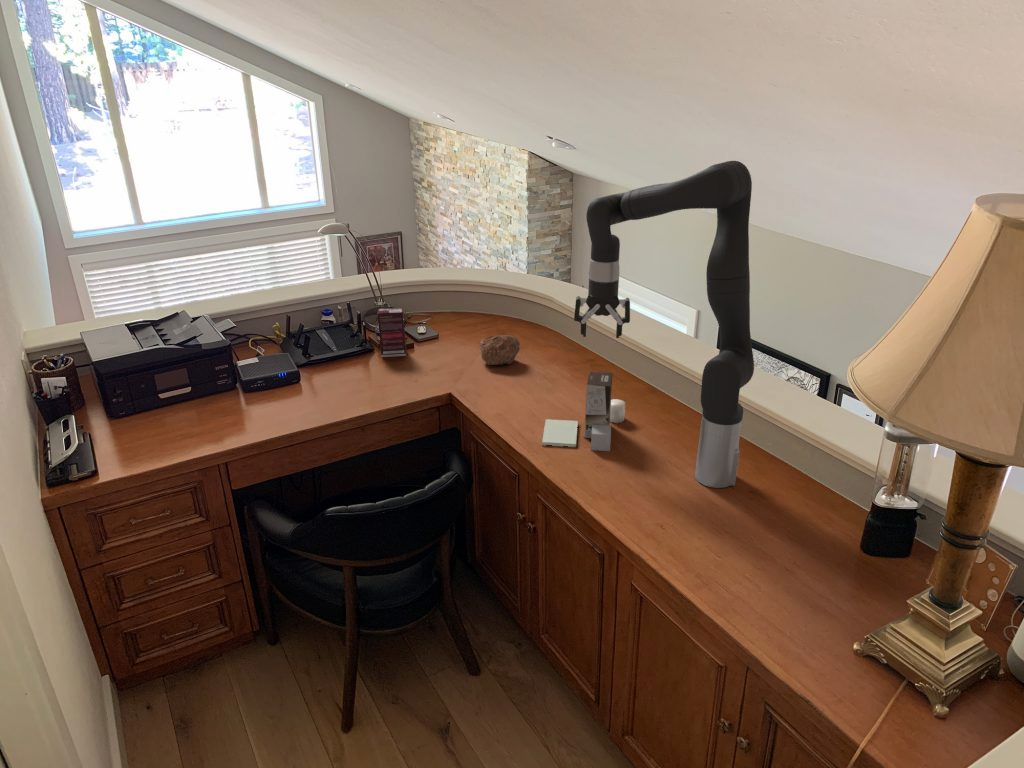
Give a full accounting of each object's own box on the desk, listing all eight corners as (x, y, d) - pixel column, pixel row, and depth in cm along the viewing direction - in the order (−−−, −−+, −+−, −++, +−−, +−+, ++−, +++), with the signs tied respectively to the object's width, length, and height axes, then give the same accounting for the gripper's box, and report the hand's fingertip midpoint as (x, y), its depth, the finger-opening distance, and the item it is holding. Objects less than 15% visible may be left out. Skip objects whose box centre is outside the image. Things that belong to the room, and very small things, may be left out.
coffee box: (607, 440, 203) (610, 386, 196) (583, 438, 204) (586, 384, 197) (610, 424, 211) (613, 372, 204) (587, 422, 212) (589, 370, 206)
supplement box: (406, 350, 260) (403, 307, 253) (406, 356, 256) (403, 312, 249) (381, 352, 259) (377, 308, 253) (380, 357, 255) (376, 313, 248)
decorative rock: (522, 357, 255) (522, 329, 250) (516, 370, 245) (516, 342, 240) (484, 354, 257) (483, 327, 253) (476, 367, 247) (476, 339, 243)
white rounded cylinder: (624, 415, 216) (625, 399, 214) (624, 423, 212) (625, 407, 210) (606, 414, 217) (607, 398, 215) (606, 422, 212) (607, 406, 210)
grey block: (609, 442, 202) (610, 425, 200) (609, 451, 198) (610, 434, 196) (591, 441, 203) (592, 424, 201) (590, 450, 199) (591, 433, 196)
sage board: (577, 424, 211) (577, 421, 211) (575, 447, 200) (575, 443, 199) (545, 422, 212) (545, 419, 212) (541, 445, 201) (542, 442, 200)
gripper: (575, 280, 187) (573, 341, 194) (633, 281, 185) (629, 343, 192) (576, 271, 194) (574, 330, 200) (631, 272, 192) (628, 332, 199)
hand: (601, 336), depth 196 cm, fingers open, 8 cm apart
